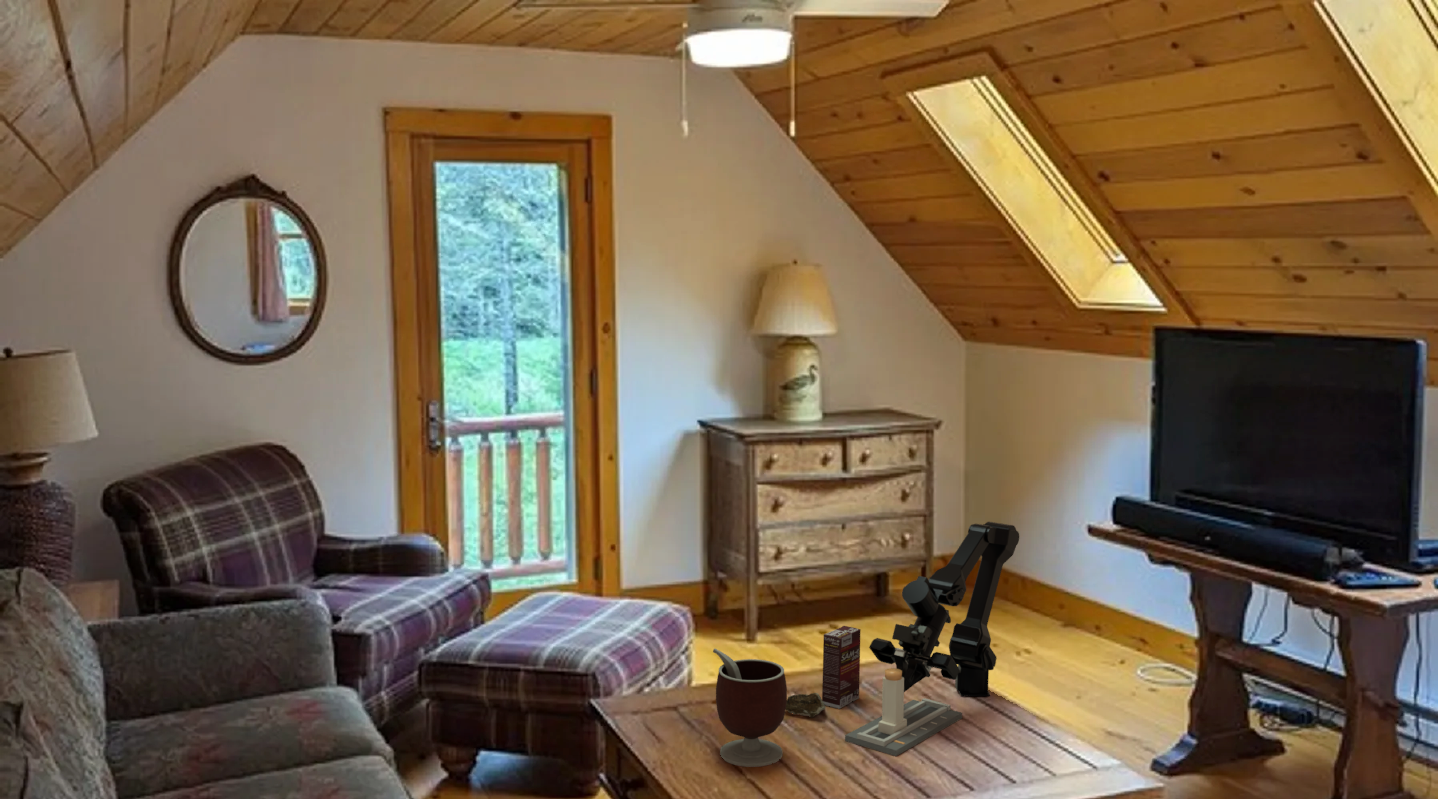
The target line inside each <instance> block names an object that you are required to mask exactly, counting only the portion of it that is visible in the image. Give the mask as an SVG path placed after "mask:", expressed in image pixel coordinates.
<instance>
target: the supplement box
mask: <svg viewBox="0 0 1438 799" xmlns="http://www.w3.org/2000/svg"><path fill="white" fill-rule="evenodd" d="M822 646H823V647H822V648H823V649H822V650H823V654H822V685H821V687H822V688H821V690H822V691H821V692H822V693H821V696H822V697H821V699H822V701H823V703H824V705H825V706H826V707H829V706H830V707H829V708H833V709H837V708H838V709H837V710H840V709H841V708H843V707H845V706H846V705H849V704H850V703H853V702H854V701H856V700H859V699H860V672H861V671H860V669H861V665H860V664H861V662H860V661H861V659H860V658H861V629H860V628H856V627H852V626H847V625H842V626H841V627H839V628H836V629H834V630H831V631H830V632H827V633H824V634H823V645H822ZM852 701H853V702H852Z"/></svg>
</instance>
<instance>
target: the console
mask: <svg viewBox="0 0 1438 799" xmlns="http://www.w3.org/2000/svg"><path fill="white" fill-rule="evenodd" d="M903 718H905V719H907V727H905V728H903V729H902V730H900V731H898V732H896V733H894V734H893V735H889V734H885V733H882V732H879V731H878V722H879V721H881V720H882V715H881V716H878V717H877V718H875V719H873V720H872V721H870V722H868V723H866V724H863V725H862V726H860V727H858V728H856V729H854V730H852V731H850V732H849V733H846V734H844V741H845V742H847V743H850V744H851V743H852V744H854V745H858V746H860V747H865V748H868V749H871V750H874V751H878V752H880V753H884V754H887V755H890V756H893V757H897V756H899V755H901V754H902V753H904V752H906V751H908V750H910V749H911V748H913V747H915V746H916V745H918V744H920V743H922V742H923V741H925V740H927V739H929V738H930V737H932V736H934V735H936V734H937V733H938V732H941V731H942V730H944V729H946V728H948V727H950V726H952V725H953V724H955V723H956V722H958V721H960V720H961V719H963V712H961V711H958V710H954V709H951V704H948V703H944V702H941V701H937V700H932V699H929V698H922V699H921V701H920V700H916V699H911V700H909V701H908V702H906V703H904V716H903Z"/></svg>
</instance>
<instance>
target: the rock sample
mask: <svg viewBox="0 0 1438 799" xmlns="http://www.w3.org/2000/svg"><path fill="white" fill-rule="evenodd" d="M826 708H827V706H826V705H824V703H823V701H822V697H821V695H820V694H819V693H818V692H811V693H805V694H803V693H799V694H792V695H788V696H787V704H786V710H785V712H786V711H787V712H788V713H790V714H792V713H793V714H792V715H796V714H797V715H799V714H800V715H799V716H805V717H808V716H809V717H808V718H814V717H815V716H817V715H819V714H820V713H821V712H822V711H824V710H826Z"/></svg>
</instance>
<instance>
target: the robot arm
mask: <svg viewBox="0 0 1438 799" xmlns="http://www.w3.org/2000/svg"><path fill="white" fill-rule="evenodd" d="M1019 541H1020V533H1019V531H1018V530H1017V528H1016V527H1015V525H1013V524H1009V523H1008V524H1007V523H1000V522H993V521H986V522H985V523H983V524H982V523H974V524H973V523H972V524H970V525H969V527H968V530H967V534H966V535H965V537H964V539H963V540H962V542H961V543H960V545H959V546H958V548H957V550H956V551H955V553H954V554H953V556H952V557H951V558H950V560H949V562H948V563H947V564H946V565H945V566H943V567H941V568H939V569H937V570H936V571H935V572H934V573H933V574H932V575H931V576H930V577H929V578H928V577H925V576H921V575H919V576H917V579H916V580H912V581H910V582H909V583H908V584H906V585H905V586H904V587H903V589H902V591H901V592H902V593H901V596H902V599H903V600H904V602H905V603H906V605H907V606H908V608H909V609H910V611H911V612H912V614H913V615H914V616H916V619H915V621H914V623H913V624H911V623H910V624H909V625H903V624H898V623H896V624H895V626H894V629H893V633H892V640H897V641H898V645H899V647H895V645H894V644H893V643H892V641H891V640H888V639H883V638H879V637H876V638H874V639H873V640H872V641H871V643H870V645H869V647H868V648H869V650H870V651H871V653H873V655H874V656H875V658H876V659H877V661H879V662H881V663H885V664H889V665H894V664H895V666H896V667H895V668H896V669H900V670H901V671H902V677H904V693H905V692H908V690H909V689H911V688H912V687H913V686H914V685H916V684H917V683H918V682H921V681H922V680H924V679H925V678H930V677H931V673H930V672H931V670H932V668H933V669H934V668H935V669H939V670H940V674H941V676H942V678H945V679H949V680H953V681H955V682H954V683H955V685H954V686H955V689H956V691H958V693H959V696H960V697H990V696H991V693H990V692H989V674H990V673H989V671H993V670H994V668H995V667H996V664H997V655H996V654H995V653H994V651H993V648H991V643H992V638H991V634H990V632H989V628H988V623H989V619H990V616H991V612H992V607H993V605H994V604H993V603H994V600H995V597H996V592H997V589H998V584H999V581H1000V577H1001V574H1002V570H1003V566H1004V564H1005V563H1006V562H1007V561H1008V560H1010V558H1011V557H1012V556H1014V553H1015V551H1016V548H1017V545H1018V544H1019ZM980 559H981V561H980V563H979V567H978V571H977V575H976V579H975V583H974V587H973V589H972V594H971V598H970V601H969V604H968V607H967V608H968V609H967V613H966V616H965V618H964V619H963V621H961V623H955V625H953V632H952V635H951V637H950V640H949V644H948V650H949V654H947V653H942V652H938V651H935V652H933V651H934V649H935V647H937V648H939V646H940V643H941V642H940V640H939V638H940V635H941V633H942V631H943V629H944V627H945V624H951V622H952V618H951V616H950V611H949V609H946V608H945V606H948V607H958V606H959V604H961V602H962V601H963V600H964V596H965V594H966V592H967V583H966V581H967V578H968V577H969V576H970V574H971V573H972V571H973V569H974V568H975V566H976V565H977V563H978V562H979V560H980ZM943 605H944V606H943ZM900 647H901V648H900Z"/></svg>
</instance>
